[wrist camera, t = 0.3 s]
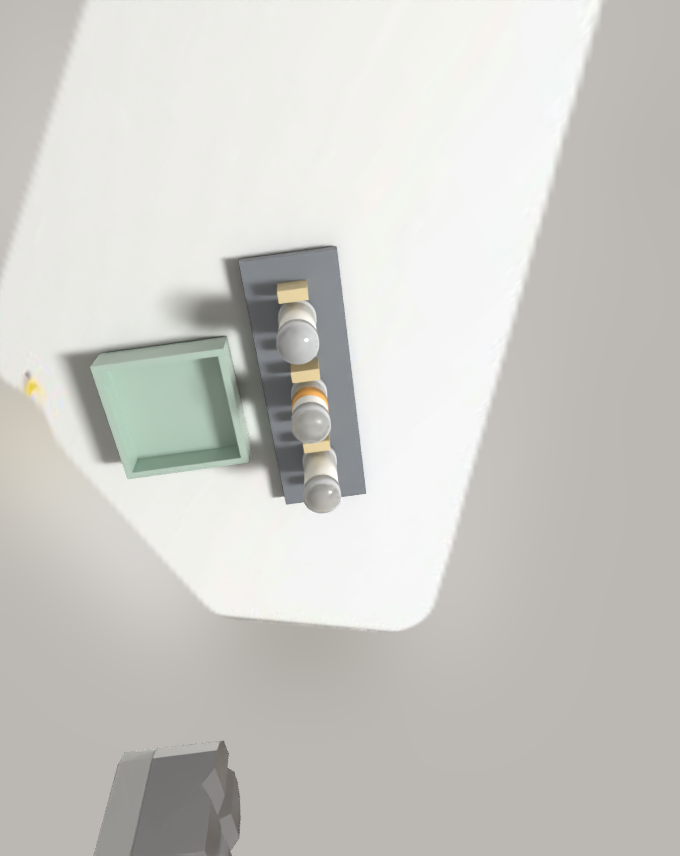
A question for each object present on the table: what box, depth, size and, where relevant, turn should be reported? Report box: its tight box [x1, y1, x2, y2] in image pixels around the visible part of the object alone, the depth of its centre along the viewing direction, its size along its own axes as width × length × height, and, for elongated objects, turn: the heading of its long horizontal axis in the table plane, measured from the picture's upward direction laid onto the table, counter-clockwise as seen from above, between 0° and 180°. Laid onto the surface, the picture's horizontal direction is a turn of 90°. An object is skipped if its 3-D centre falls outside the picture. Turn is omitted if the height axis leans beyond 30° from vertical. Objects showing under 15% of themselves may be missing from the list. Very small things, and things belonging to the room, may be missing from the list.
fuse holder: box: [239, 246, 366, 504], centre depth 56 cm, size 24×8×4 cm, turn 7°
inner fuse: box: [276, 300, 319, 364], centre depth 50 cm, size 3×3×7 cm
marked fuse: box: [291, 377, 331, 444], centre depth 53 cm, size 3×3×7 cm
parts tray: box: [90, 336, 251, 479], centre depth 56 cm, size 11×11×3 cm
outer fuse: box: [303, 445, 341, 513], centre depth 56 cm, size 3×3×7 cm
